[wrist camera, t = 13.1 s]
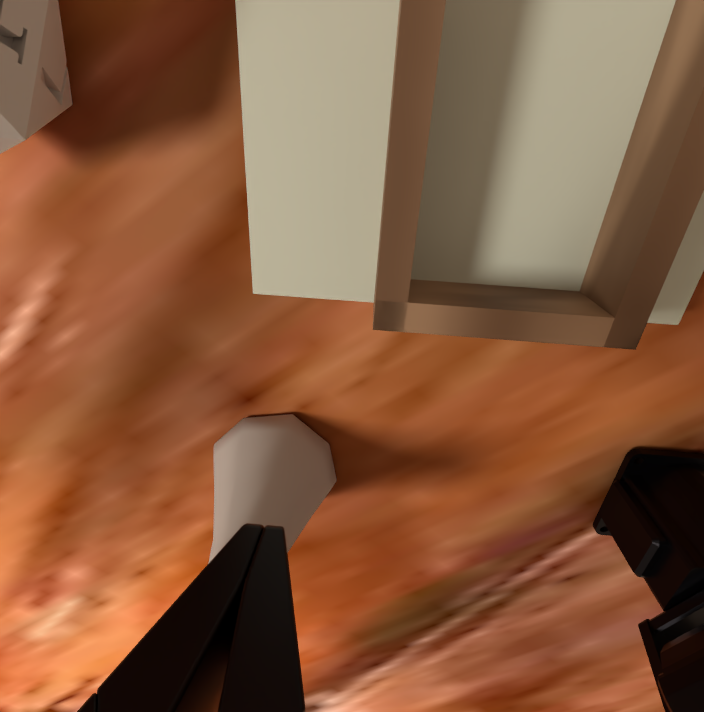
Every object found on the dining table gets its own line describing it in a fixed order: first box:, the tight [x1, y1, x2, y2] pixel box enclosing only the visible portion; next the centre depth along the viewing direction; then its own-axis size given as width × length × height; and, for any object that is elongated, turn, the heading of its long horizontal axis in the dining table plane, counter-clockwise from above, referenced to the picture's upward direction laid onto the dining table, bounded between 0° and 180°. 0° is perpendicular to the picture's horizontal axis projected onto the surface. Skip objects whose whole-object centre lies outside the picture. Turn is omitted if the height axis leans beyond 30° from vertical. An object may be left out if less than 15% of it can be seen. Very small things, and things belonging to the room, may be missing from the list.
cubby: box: [373, 0, 704, 350], centre depth 14 cm, size 10×11×3 cm
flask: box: [209, 414, 337, 563], centre depth 20 cm, size 7×7×10 cm
